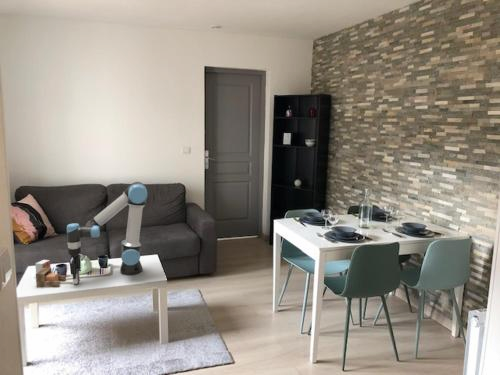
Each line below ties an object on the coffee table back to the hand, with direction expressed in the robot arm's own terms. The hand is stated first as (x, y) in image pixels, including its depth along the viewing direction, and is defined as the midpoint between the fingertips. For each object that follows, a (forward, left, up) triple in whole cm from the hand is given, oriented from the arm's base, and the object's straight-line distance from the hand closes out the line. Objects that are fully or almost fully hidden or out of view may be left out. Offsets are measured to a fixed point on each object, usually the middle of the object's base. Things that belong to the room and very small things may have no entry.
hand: (76, 282), depth 270 cm
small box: (+27, -13, -1) cm, 30 cm away
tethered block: (+9, 0, -1) cm, 9 cm away
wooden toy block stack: (+16, 0, -1) cm, 16 cm away
